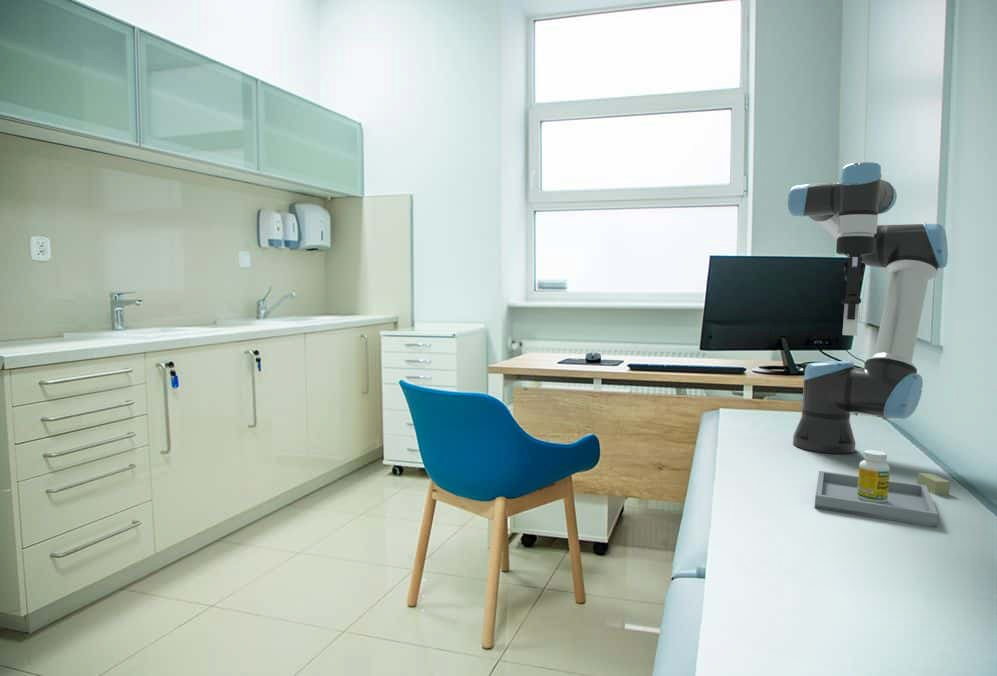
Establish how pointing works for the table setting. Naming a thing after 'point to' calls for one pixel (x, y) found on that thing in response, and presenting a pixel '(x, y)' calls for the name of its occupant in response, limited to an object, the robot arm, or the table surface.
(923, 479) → the olive brick
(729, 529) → the table surface
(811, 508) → the table surface
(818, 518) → the table surface
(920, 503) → the slate tray
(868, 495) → the supplement bottle
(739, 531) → the table surface
